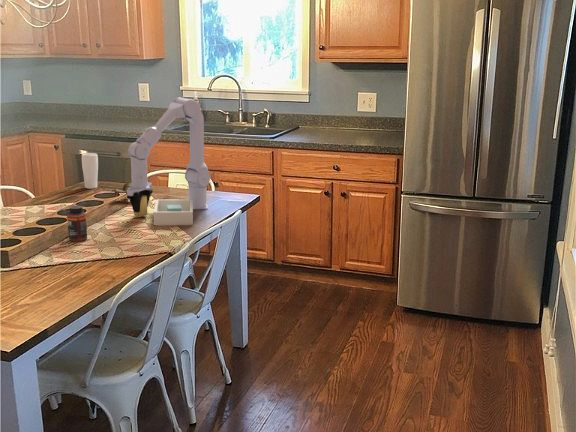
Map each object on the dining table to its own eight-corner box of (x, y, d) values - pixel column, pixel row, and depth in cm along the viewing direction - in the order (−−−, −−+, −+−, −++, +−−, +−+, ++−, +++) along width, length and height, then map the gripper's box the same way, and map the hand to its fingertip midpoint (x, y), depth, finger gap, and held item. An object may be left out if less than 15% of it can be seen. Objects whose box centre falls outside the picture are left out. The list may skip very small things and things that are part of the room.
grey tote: (156, 211, 243) (156, 199, 242) (192, 211, 245) (192, 199, 244) (153, 225, 226) (153, 212, 224) (192, 225, 228) (192, 212, 227)
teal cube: (167, 217, 234) (167, 205, 232) (180, 217, 235) (180, 204, 234) (167, 221, 229) (167, 208, 228) (181, 221, 230) (181, 208, 229)
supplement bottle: (89, 236, 211) (87, 204, 208) (84, 242, 205) (82, 209, 202) (71, 236, 211) (69, 204, 208) (66, 242, 205) (64, 208, 202)
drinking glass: (80, 188, 272) (78, 155, 268) (87, 185, 279) (85, 152, 275) (94, 190, 271) (93, 156, 267) (101, 186, 278) (100, 153, 274)
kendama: (141, 194, 270) (138, 205, 251) (118, 195, 268) (113, 206, 249) (140, 181, 268) (137, 191, 249) (117, 181, 267) (112, 191, 248)
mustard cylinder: (134, 212, 237) (133, 194, 235) (147, 212, 238) (147, 194, 236) (133, 216, 232) (132, 198, 230) (146, 216, 233) (146, 198, 231)
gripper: (138, 180, 223) (139, 216, 227) (158, 172, 236) (159, 206, 240) (121, 177, 225) (122, 214, 229) (142, 170, 238) (143, 204, 242)
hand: (140, 210), depth 235 cm, fingers closed on mustard cylinder, 5 cm apart
